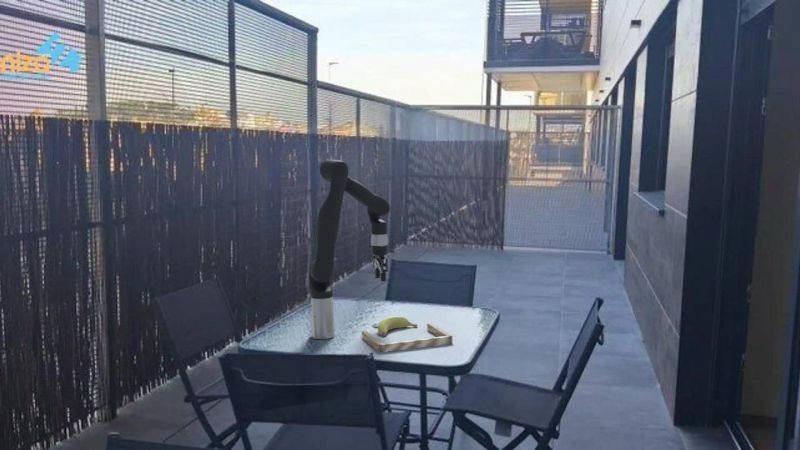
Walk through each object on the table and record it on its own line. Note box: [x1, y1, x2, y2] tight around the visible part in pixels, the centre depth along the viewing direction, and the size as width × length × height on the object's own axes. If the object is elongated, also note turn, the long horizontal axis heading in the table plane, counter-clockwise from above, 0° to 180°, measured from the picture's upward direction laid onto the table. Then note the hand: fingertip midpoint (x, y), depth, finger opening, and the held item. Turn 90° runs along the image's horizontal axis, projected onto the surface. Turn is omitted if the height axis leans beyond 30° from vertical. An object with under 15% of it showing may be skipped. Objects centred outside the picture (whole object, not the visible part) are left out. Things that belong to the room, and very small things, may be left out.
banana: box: [377, 316, 418, 337], centre depth 302 cm, size 14×6×20 cm
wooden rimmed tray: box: [361, 322, 453, 354], centre depth 286 cm, size 31×24×3 cm
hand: (380, 279), depth 314 cm, fingers open, 8 cm apart
